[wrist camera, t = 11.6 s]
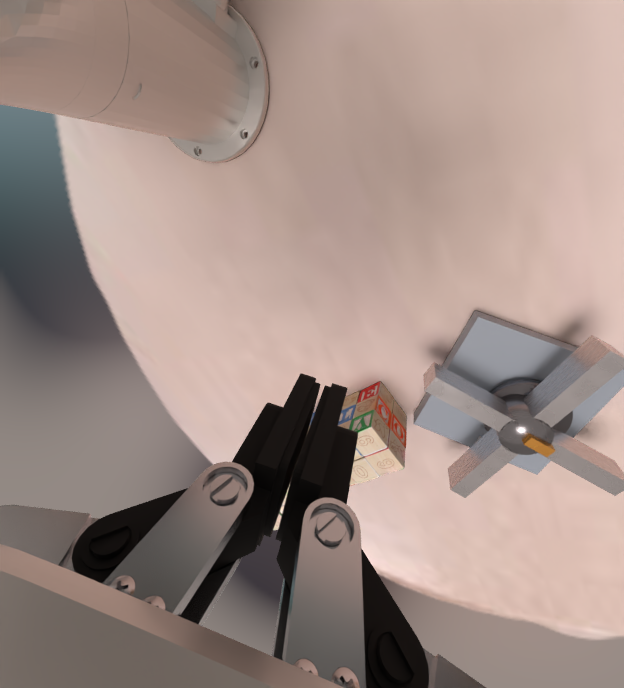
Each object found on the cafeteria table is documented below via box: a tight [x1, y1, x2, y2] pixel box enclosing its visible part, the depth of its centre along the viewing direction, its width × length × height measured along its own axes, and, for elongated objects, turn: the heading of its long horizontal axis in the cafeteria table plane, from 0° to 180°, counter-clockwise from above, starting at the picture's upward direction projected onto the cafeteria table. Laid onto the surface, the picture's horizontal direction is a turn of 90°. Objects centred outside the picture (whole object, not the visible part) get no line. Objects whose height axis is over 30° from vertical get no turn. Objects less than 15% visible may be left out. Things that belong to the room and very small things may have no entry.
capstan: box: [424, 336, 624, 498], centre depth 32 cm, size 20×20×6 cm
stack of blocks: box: [273, 382, 407, 530], centre depth 40 cm, size 21×6×12 cm, turn 128°
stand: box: [414, 310, 624, 474], centre depth 35 cm, size 15×15×2 cm
